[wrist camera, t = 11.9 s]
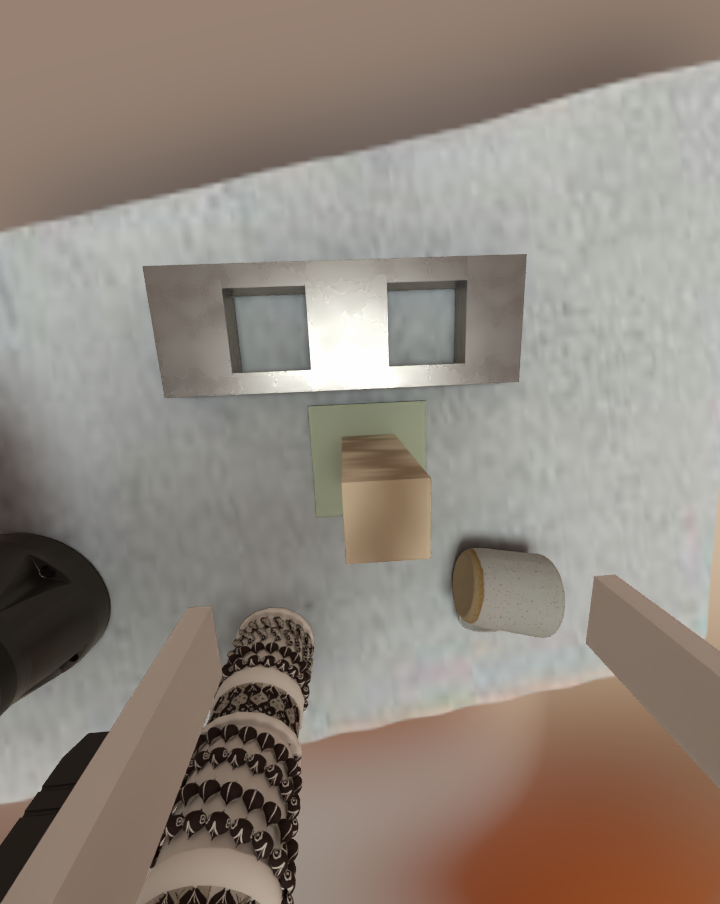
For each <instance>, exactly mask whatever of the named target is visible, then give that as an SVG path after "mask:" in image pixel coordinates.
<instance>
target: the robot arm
mask: <svg viewBox="0 0 720 904" xmlns="http://www.w3.org/2000/svg"><path fill="white" fill-rule="evenodd" d="M109 613H110V605H109V598H108V594H107V591H106V588H105V586H104V584H103V582H102V580H101V578H100V576H99V575H98V573H97V572H96V571H95V569H94V568H93V567H92V566H91V565H90V564H89V563H88V562H87V561H86V560H85V559H84V558H83V557H82V556H81V555H79V554H78V553H77V552H75V551H74V550H72V549H70V548H69V547H67V546H65V545H63V544H61V543H59V542H57V541H54V540H52V539H49V538H45V537H42V536H37V535H32V534H20V533H16V534H4V535H0V716H1V715H2V714H3V713H4V712H5V711H6V710H7V709H8V708H9V707H10V706H11V705H12V704H14V703H15V702H17V701H18V700H20V699H22V698H23V697H25V696H26V695H28V694H30V693H31V692H33V691H34V690H36V689H38V688H39V687H41V686H42V685H44V684H46V683H47V682H49V681H50V680H52V679H54V678H55V677H57V676H58V675H60V674H61V673H63V672H65V671H67V670H68V669H70V668H71V667H73V666H74V665H75V664H76V663H78V662H79V661H80V660H81V659H82V658H83V657H84V656H85V655H86V654H87V653H88V652H89V651H90V649H91V648H92V647H93V646H94V645H95V644H96V643H97V642H98V641H99V639H100V638H101V636H102V635H103V633H104V631H105V629H106V627H107V624H108V620H109ZM586 644H587V645H588V646H589V647H590V648H591V649H592V650H593V651H594V653H595V654H596V655H597V656H598V657H599V658H600V659H601V660H602V661H603V662H604V664H605V665H606V666H607V667H608V668H609V669H610V670H611V671H612V672H613V673H614V674H615V676H616V677H617V678H618V679H619V680H620V681H621V682H622V683H623V684H624V685H625V686H626V687H627V689H628V690H629V691H630V692H631V693H632V694H633V695H634V696H635V697H636V699H637V700H639V702H640V703H641V704H642V705H643V706H644V707H645V708H646V709H647V710H648V711H649V713H650V714H651V715H652V716H653V717H654V718H655V719H656V720H657V721H658V723H659V724H660V725H661V726H662V727H663V728H664V729H665V730H666V731H667V732H668V733H669V735H670V736H671V737H672V738H673V739H674V740H675V741H676V742H677V743H678V744H679V746H680V747H681V748H682V749H683V750H684V751H685V752H686V753H687V754H688V755H689V756H690V758H691V759H692V760H693V761H694V762H695V763H696V764H697V765H698V766H699V767H700V769H701V770H702V771H703V772H704V773H705V774H706V775H707V776H708V777H709V778H710V779H711V781H712V782H713V783H714V784H715V785H716V786H717V787H718V788H719V789H720V651H719V650H717V649H716V648H715V647H713V646H712V645H711V644H709V643H708V642H707V641H705V640H704V639H702V638H701V637H700V636H698V635H697V634H696V633H694V632H693V631H691V630H690V629H689V628H687V627H686V626H685V625H683V624H682V623H681V622H679V621H678V620H676V619H675V618H674V617H672V616H671V615H670V614H668V613H667V612H666V611H664V610H663V609H661V608H660V607H659V606H657V605H656V604H655V603H653V602H652V601H651V600H649V599H648V598H646V597H645V596H644V595H642V594H641V593H640V592H638V591H637V590H635V589H634V588H633V587H631V586H630V585H629V584H627V583H626V582H625V581H623V580H622V579H620V578H619V577H618V576H616V575H605V576H594V582H593V590H592V598H591V606H590V614H589V622H588V630H587V638H586ZM221 678H222V669H221V663H220V656H219V650H218V644H217V638H216V631H215V625H214V619H213V613H212V607H211V606H205V607H192V608H187V610H186V611H185V613H184V614H183V616H182V618H181V619H180V621H179V622H178V624H177V625H176V627H175V629H174V630H173V632H172V633H171V635H170V636H169V638H168V640H167V641H166V643H165V644H164V646H163V648H162V649H161V651H160V652H159V654H158V655H157V657H156V659H155V660H154V662H153V663H152V665H151V667H150V668H149V670H148V671H147V673H146V674H145V676H144V678H143V679H142V681H141V682H140V684H139V686H138V687H137V689H136V690H135V692H134V693H133V695H132V697H131V698H130V700H129V701H128V703H127V704H126V706H125V708H124V709H123V711H122V712H121V714H120V716H119V717H118V719H117V720H116V722H115V723H114V725H113V727H112V728H111V730H110V731H108V732H98V733H88V734H87V735H86V736H85V737H84V738H83V739H82V740H81V741H80V742H79V743H78V744H77V745H76V746H74V747H73V748H72V749H71V750H70V751H69V752H68V753H67V754H66V755H65V756H64V757H63V758H62V759H61V761H60V762H59V764H58V765H57V766H56V768H55V769H54V771H53V772H52V773H51V775H50V776H49V778H48V779H47V780H46V782H45V783H44V785H43V786H42V790H41V792H38V793H37V794H36V796H35V797H34V799H33V800H32V802H31V803H30V804H29V806H28V807H27V809H26V810H25V813H24V816H23V817H22V818H20V819H19V820H18V821H17V823H16V824H15V825H14V827H13V828H12V830H11V831H10V833H9V834H8V835H7V837H6V838H5V840H4V841H3V842H2V844H1V845H0V904H136V903H137V900H138V897H139V895H140V892H141V889H142V887H143V884H144V882H145V879H146V876H147V874H148V871H149V868H150V866H151V863H152V860H153V858H154V855H155V852H156V850H157V847H158V844H159V842H160V839H161V837H162V834H163V831H164V829H165V826H166V823H167V821H168V818H169V815H170V813H171V810H172V807H173V805H174V802H175V799H176V797H177V794H178V792H179V789H180V786H181V784H182V781H183V778H184V776H185V773H186V770H187V768H188V765H189V762H190V760H191V757H192V754H193V752H194V749H195V747H196V744H197V741H198V739H199V736H200V733H201V731H202V728H203V725H204V723H205V720H206V717H207V715H208V712H209V709H210V707H211V704H212V702H213V699H214V696H215V694H216V691H217V688H218V686H219V683H220V680H221Z"/></svg>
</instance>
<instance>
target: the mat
mask: <svg viewBox="0 0 720 904" xmlns="http://www.w3.org/2000/svg"><path fill="white" fill-rule="evenodd" d="M308 413H309V426H310V439H311V452H312V465H313V478H314V491H315V504H316V517H330V516H343V502H342V484H341V476H342V437H343V436H363V435H383V434H395V435H396V436H397V438H398V439H399V440H400V441H401V442H402V444H403V445H404V446H405V447H406V449H407V450H408V451H409V452H410V453H411V455H412V456H413V457H414V458H415V459H416V461H417V462H418V463H419V464H420V465H421V467H422V468H423V469H424V470H425V472H426V401H404V402H383V403H362V404H341V405H319V406H308Z"/></svg>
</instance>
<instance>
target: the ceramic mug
mask: <svg viewBox="0 0 720 904" xmlns="http://www.w3.org/2000/svg"><path fill="white" fill-rule="evenodd" d="M453 597H454V603H455V607H456V610H457V616H458V620H459V623H460V624H461V625H462V626H463V627H464V628H467V629H469V630H472V631H477V632H495V631H499V630H501V631H507V632H512V633H517V634H523V635H528V636H534V637H542V638H545V637H550V636H551V635H553V634H554V633H556V631H557V630H558V629H559V627H560V624H561V623H562V619H563V615H564V608H565V594H564V588H563V584H562V580H561V577H560V574H559V572H558V570H557V569H556V567H555V566H554V564H553V563H552V562H551V561H550V560H549V559H548V558H546V557H545V556H543V555H540V554H533V553H523V552H514V551H504V550H495V549H488V548H471V549H467V550H465V551H463V552H462V553H461V554H460V556H459V557H458V559H457V561H456V564H455V568H454V573H453Z"/></svg>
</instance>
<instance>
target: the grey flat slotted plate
mask: <svg viewBox="0 0 720 904" xmlns="http://www.w3.org/2000/svg"><path fill="white" fill-rule="evenodd" d="M526 256H527V254H516V255H484V256H452V257H420V258H389V259H357V260H325V261H294V262H262V263H230V264H199V265H167V266H143V272H144V278H145V284H146V290H147V296H148V302H149V308H150V313H151V319H152V325H153V331H154V337H155V343H156V349H157V355H158V361H159V367H160V372H161V378H162V384H163V390H164V396H165V398H176V397H198V396H220V395H242V394H264V393H286V392H307V391H329V390H351V389H373V388H395V387H417V386H439V385H461V384H483V383H504V382H519V371H520V355H521V338H522V322H523V305H524V289H525V273H526ZM430 289H455V341H454V364H438V365H415V366H391V367H389V354H388V310H387V291H401V290H430ZM287 294H306V306H307V320H308V334H309V347H310V361H311V370H299V371H276V372H253V373H242V366H241V357H240V349H239V340H238V332H237V323H236V314H235V306H234V297H233V296H259V295H287Z"/></svg>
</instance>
